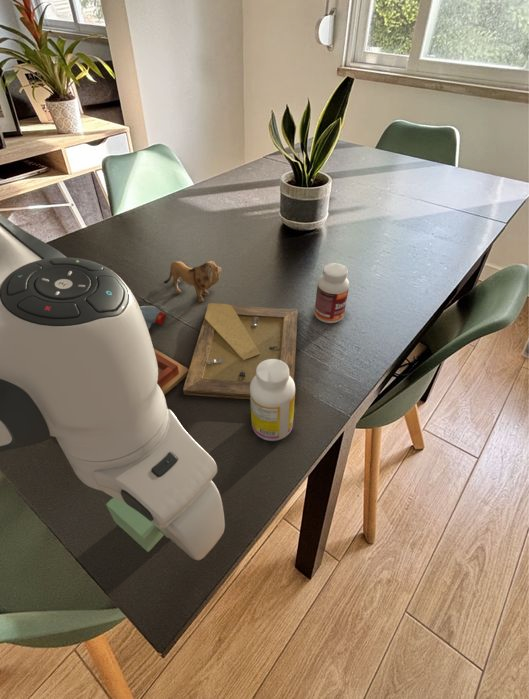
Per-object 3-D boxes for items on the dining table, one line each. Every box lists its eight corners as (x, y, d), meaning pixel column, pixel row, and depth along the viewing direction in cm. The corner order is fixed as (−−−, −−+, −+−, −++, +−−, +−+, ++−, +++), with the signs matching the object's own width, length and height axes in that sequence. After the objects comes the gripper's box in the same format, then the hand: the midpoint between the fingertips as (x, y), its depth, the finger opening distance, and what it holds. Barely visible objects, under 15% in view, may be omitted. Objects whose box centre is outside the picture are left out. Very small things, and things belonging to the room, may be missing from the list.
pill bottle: (337, 328, 86) (344, 282, 78) (309, 318, 88) (313, 273, 80) (348, 311, 90) (356, 266, 82) (321, 302, 92) (326, 258, 84)
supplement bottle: (279, 403, 72) (282, 348, 63) (300, 432, 67) (306, 377, 59) (244, 418, 69) (241, 363, 61) (263, 449, 65) (263, 394, 56)
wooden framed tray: (134, 420, 69) (130, 408, 67) (92, 389, 74) (87, 377, 72) (190, 373, 77) (188, 361, 75) (148, 348, 81) (145, 336, 79)
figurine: (123, 331, 84) (125, 314, 87) (163, 335, 86) (165, 319, 89) (123, 313, 81) (126, 297, 84) (166, 318, 83) (167, 302, 86)
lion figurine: (226, 293, 94) (224, 258, 88) (215, 307, 91) (212, 271, 84) (170, 278, 98) (163, 244, 92) (157, 291, 95) (149, 255, 89)
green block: (148, 552, 45) (141, 536, 42) (114, 521, 47) (105, 504, 44) (185, 512, 48) (181, 494, 45) (151, 485, 50) (145, 467, 48)
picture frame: (209, 309, 90) (184, 395, 73) (208, 303, 89) (182, 388, 72) (297, 314, 89) (292, 403, 72) (297, 308, 88) (293, 396, 71)
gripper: (19, 401, 39) (65, 478, 49) (175, 535, 31) (194, 597, 40) (78, 363, 43) (110, 441, 53) (232, 472, 34) (237, 543, 44)
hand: (147, 510), depth 46 cm, fingers closed on green block, 5 cm apart
